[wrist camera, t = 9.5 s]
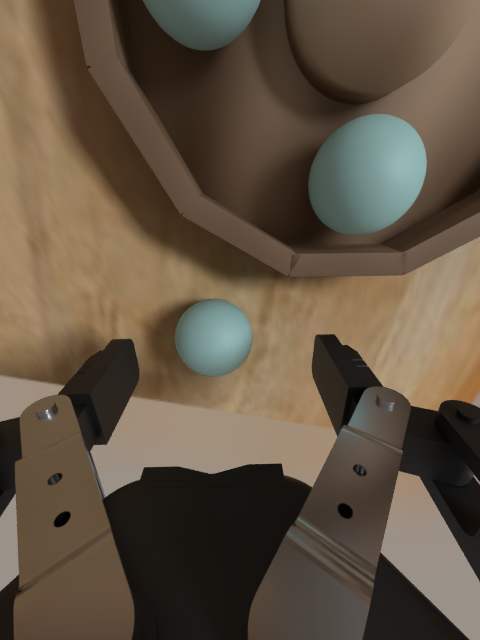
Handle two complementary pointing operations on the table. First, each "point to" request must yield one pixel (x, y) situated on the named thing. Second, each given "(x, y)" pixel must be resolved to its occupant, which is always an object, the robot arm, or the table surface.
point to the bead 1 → (203, 20)
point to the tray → (299, 120)
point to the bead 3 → (367, 174)
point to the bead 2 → (213, 337)
